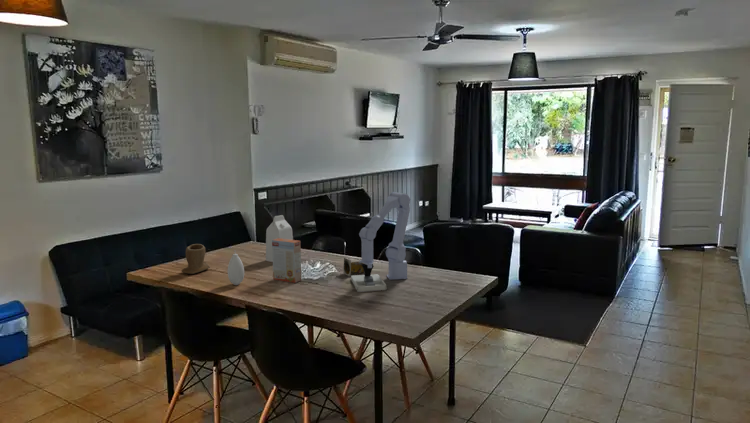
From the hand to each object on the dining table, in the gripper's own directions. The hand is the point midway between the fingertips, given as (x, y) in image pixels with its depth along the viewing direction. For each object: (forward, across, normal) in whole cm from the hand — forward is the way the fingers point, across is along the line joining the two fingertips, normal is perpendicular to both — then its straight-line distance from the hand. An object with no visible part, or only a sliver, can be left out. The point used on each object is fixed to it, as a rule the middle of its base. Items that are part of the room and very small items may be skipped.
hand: (367, 278), depth 268 cm
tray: (+3, +7, 0) cm, 8 cm away
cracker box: (+3, -14, -39) cm, 41 cm away
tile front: (+2, +7, 0) cm, 7 cm away
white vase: (+3, -11, -64) cm, 65 cm away
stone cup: (+3, -38, -86) cm, 94 cm away
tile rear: (+1, +3, 0) cm, 3 cm away
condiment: (-2, -17, -8) cm, 19 cm away
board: (+3, -3, 0) cm, 4 cm away
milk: (+3, -56, -42) cm, 70 cm away
